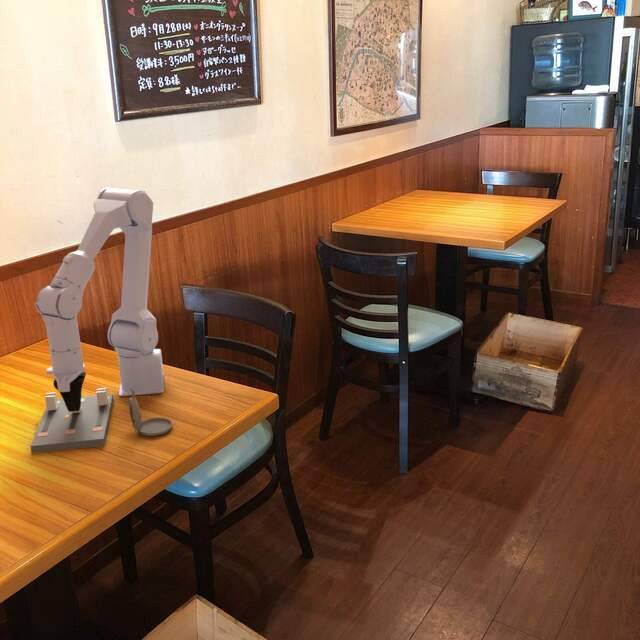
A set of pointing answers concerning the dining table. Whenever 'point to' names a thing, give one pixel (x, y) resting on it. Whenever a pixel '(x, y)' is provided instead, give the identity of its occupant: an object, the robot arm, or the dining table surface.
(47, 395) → the handle
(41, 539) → the dining table surface
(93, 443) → the panel
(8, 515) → the dining table surface
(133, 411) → the pocket watch
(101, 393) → the handle
